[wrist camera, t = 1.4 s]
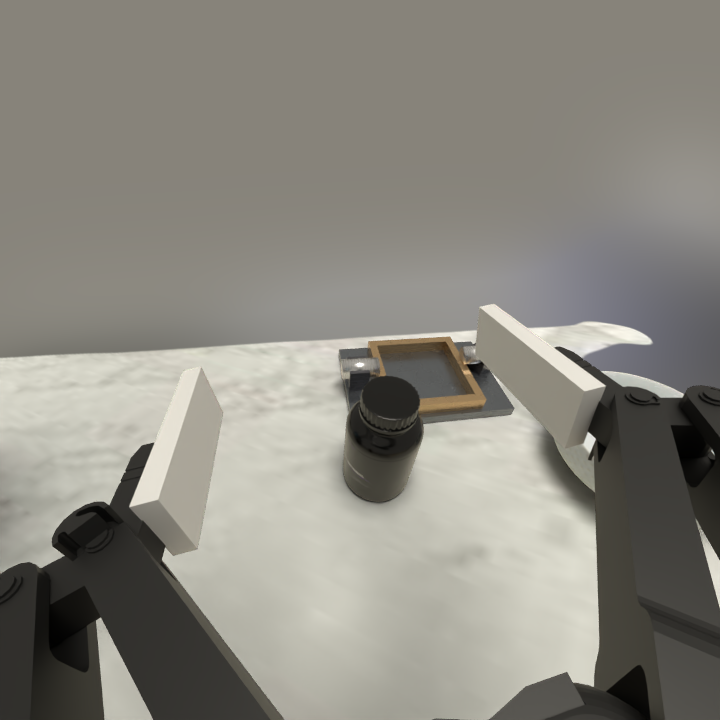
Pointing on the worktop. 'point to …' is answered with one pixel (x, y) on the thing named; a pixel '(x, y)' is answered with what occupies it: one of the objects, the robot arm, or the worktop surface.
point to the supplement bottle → (382, 438)
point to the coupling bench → (429, 376)
